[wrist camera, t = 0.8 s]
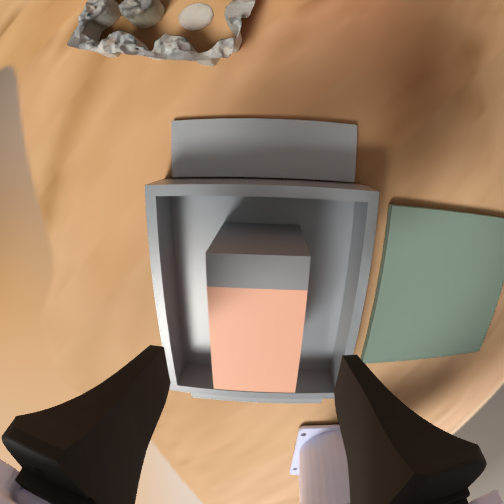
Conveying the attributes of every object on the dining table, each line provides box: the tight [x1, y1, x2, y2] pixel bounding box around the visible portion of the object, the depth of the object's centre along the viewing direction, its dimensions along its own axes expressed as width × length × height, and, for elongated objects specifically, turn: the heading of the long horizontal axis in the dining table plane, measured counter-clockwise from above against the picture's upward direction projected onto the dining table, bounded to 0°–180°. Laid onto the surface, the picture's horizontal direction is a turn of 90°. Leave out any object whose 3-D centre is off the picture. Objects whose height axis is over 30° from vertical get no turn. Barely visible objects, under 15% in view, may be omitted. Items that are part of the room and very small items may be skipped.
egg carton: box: [67, 0, 255, 66], centre depth 13 cm, size 11×8×4 cm
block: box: [205, 222, 311, 393], centre depth 17 cm, size 8×4×6 cm, turn 179°
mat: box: [361, 204, 504, 363], centre depth 19 cm, size 12×12×1 cm
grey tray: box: [145, 118, 380, 403], centre depth 19 cm, size 21×12×3 cm, turn 179°
